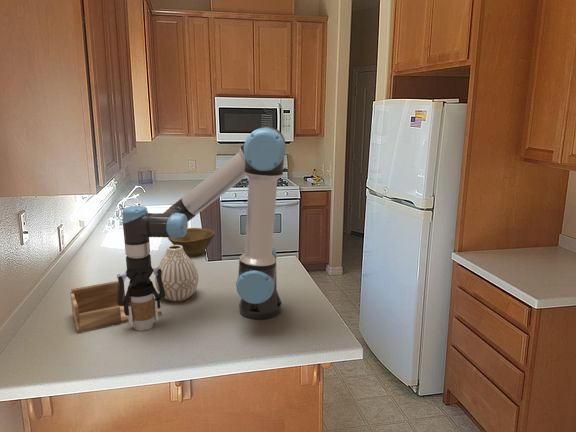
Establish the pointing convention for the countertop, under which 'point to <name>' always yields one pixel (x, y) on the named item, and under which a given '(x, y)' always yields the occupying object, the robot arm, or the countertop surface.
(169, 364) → the countertop surface
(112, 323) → the shelf
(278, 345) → the countertop surface
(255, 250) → the robot arm
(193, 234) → the bowl
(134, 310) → the coffee cup
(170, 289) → the vase
